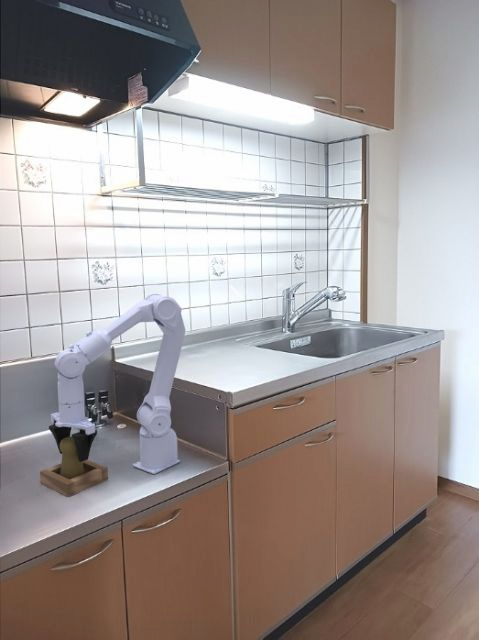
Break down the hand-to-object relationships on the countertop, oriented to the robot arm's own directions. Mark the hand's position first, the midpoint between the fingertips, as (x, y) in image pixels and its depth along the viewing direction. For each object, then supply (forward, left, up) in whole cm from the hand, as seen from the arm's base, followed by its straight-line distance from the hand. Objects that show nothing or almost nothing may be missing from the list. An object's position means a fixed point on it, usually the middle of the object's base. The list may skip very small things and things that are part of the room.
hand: (73, 456), depth 118 cm
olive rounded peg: (+1, 0, -7) cm, 7 cm away
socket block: (0, 0, -6) cm, 6 cm away
